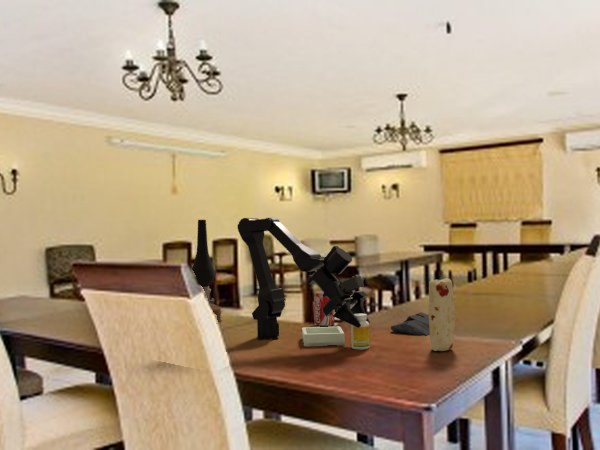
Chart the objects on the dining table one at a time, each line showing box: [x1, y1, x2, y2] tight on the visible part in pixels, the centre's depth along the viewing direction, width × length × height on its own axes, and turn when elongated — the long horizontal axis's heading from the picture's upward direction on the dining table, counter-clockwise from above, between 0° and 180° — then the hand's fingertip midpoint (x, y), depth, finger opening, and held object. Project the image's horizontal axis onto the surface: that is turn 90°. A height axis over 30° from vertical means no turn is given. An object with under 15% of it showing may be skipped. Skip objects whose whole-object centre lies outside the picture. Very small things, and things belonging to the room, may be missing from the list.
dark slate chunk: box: [390, 312, 430, 337], centre depth 185 cm, size 15×22×5 cm
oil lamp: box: [191, 219, 223, 324], centre depth 205 cm, size 14×15×40 cm
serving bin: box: [301, 325, 346, 347], centre depth 166 cm, size 12×12×4 cm
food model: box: [427, 277, 456, 352], centre depth 152 cm, size 10×7×20 cm
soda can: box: [313, 290, 335, 327], centre depth 195 cm, size 7×7×12 cm
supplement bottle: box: [350, 313, 371, 350], centre depth 157 cm, size 5×5×10 cm
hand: (364, 325), depth 156 cm, fingers closed on supplement bottle, 5 cm apart
